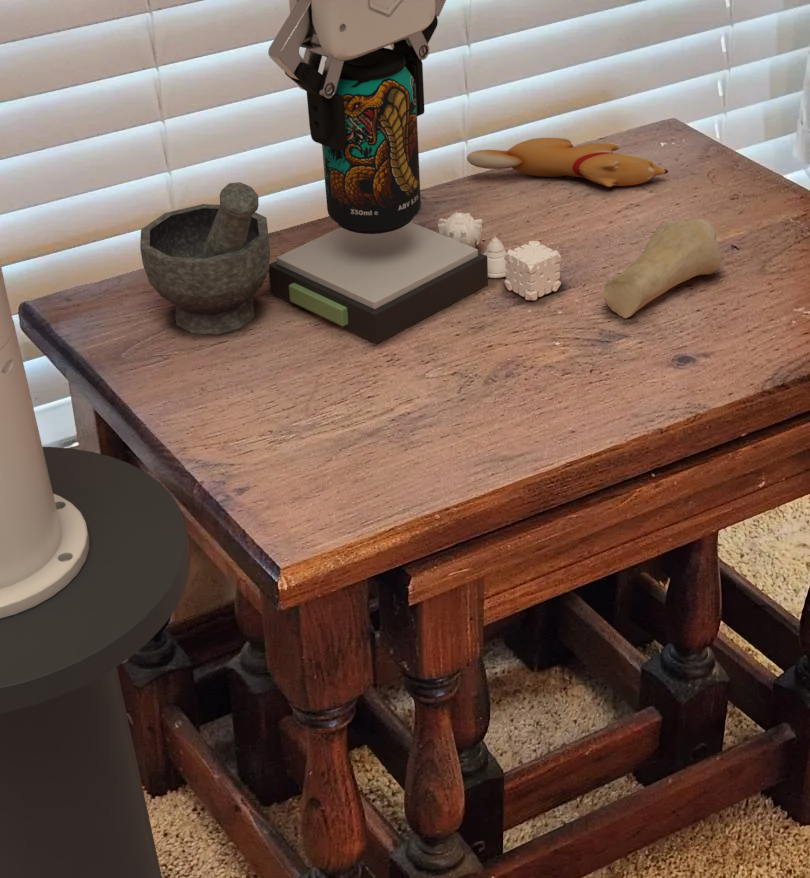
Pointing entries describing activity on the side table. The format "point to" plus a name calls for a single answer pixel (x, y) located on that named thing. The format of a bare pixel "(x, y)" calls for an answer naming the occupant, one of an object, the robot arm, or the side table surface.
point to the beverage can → (375, 147)
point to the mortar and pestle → (209, 260)
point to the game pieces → (509, 258)
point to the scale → (378, 278)
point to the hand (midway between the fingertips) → (368, 125)
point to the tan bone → (665, 264)
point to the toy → (570, 161)
